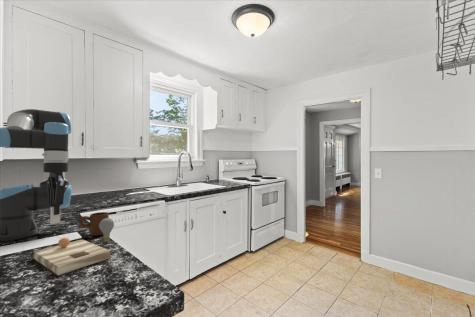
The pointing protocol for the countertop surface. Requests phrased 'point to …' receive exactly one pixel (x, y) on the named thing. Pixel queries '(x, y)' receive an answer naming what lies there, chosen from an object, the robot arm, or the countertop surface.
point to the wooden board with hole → (71, 256)
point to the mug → (94, 222)
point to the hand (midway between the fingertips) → (55, 223)
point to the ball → (64, 242)
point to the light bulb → (106, 228)
